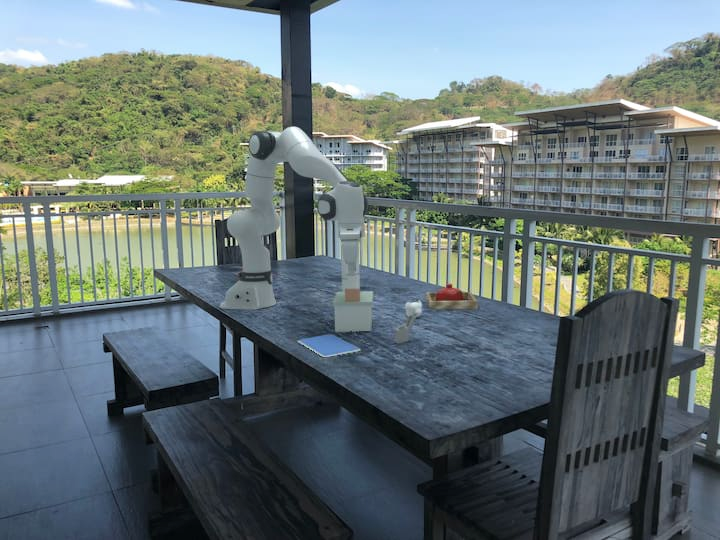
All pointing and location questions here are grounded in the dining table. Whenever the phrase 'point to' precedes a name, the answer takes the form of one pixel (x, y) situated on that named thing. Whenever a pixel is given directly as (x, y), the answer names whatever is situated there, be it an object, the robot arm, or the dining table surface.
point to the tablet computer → (328, 345)
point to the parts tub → (353, 318)
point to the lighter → (404, 330)
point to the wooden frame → (452, 302)
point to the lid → (353, 298)
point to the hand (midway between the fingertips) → (352, 273)
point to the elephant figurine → (413, 308)
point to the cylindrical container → (347, 280)
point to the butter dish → (449, 294)
